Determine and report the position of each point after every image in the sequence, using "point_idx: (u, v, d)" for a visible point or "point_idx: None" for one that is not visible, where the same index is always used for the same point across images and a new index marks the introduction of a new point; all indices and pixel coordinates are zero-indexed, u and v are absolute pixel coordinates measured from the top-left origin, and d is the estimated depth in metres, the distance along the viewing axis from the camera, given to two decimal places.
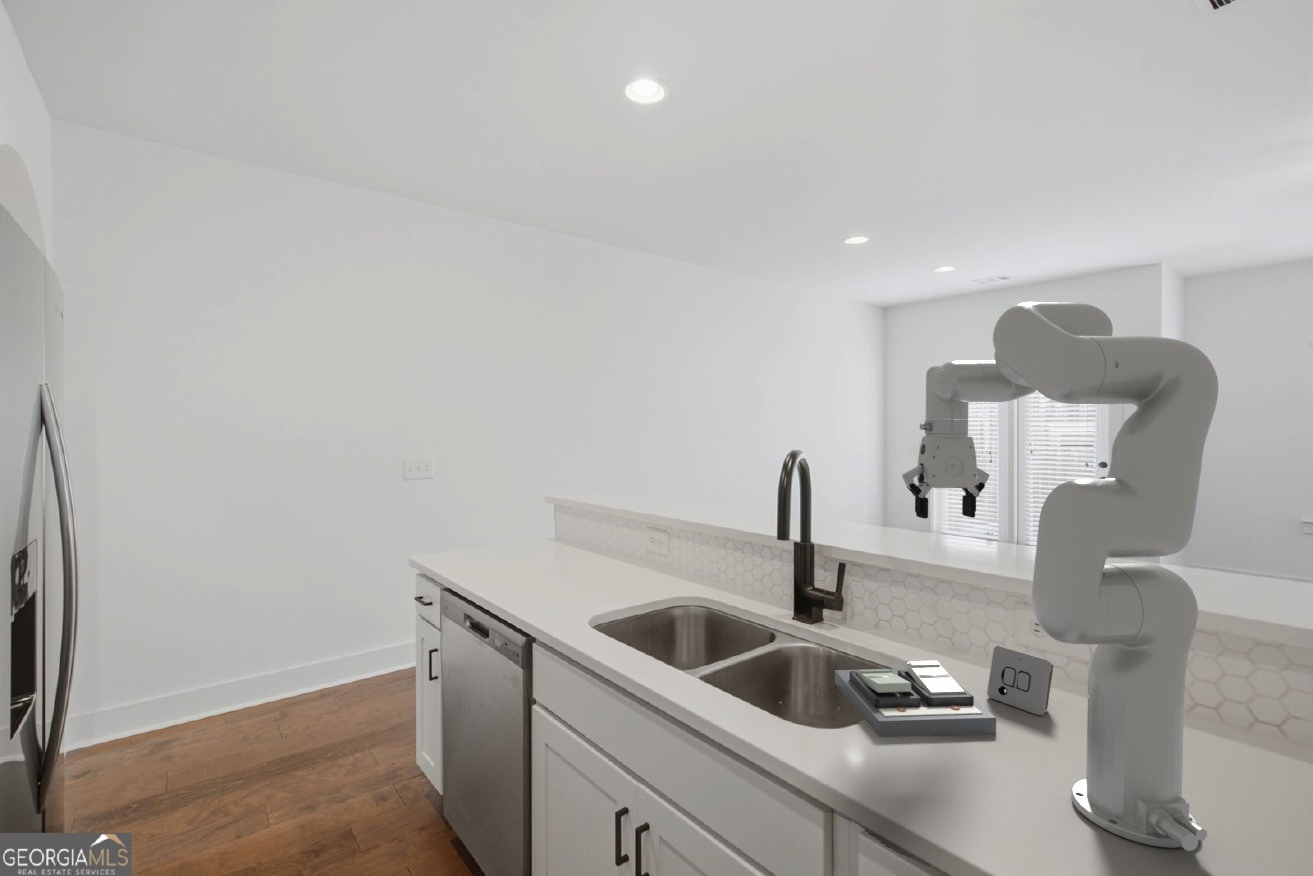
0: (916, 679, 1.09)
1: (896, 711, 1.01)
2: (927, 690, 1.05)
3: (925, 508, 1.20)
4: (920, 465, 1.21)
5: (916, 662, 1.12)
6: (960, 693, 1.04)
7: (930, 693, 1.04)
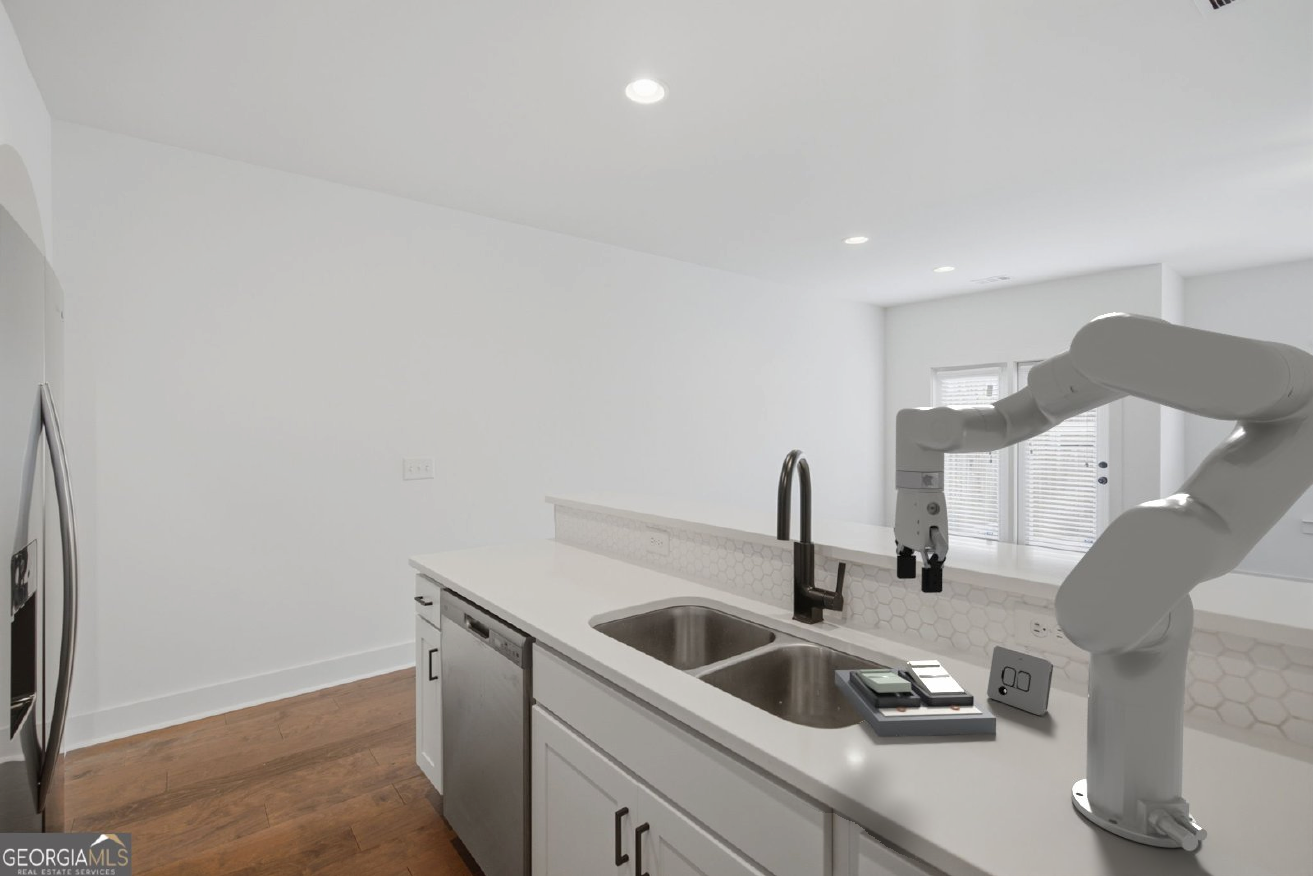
0: (916, 679, 1.09)
1: (896, 711, 1.01)
2: (927, 690, 1.05)
3: (941, 580, 1.00)
4: (931, 528, 1.00)
5: (916, 662, 1.12)
6: (960, 693, 1.04)
7: (930, 693, 1.04)
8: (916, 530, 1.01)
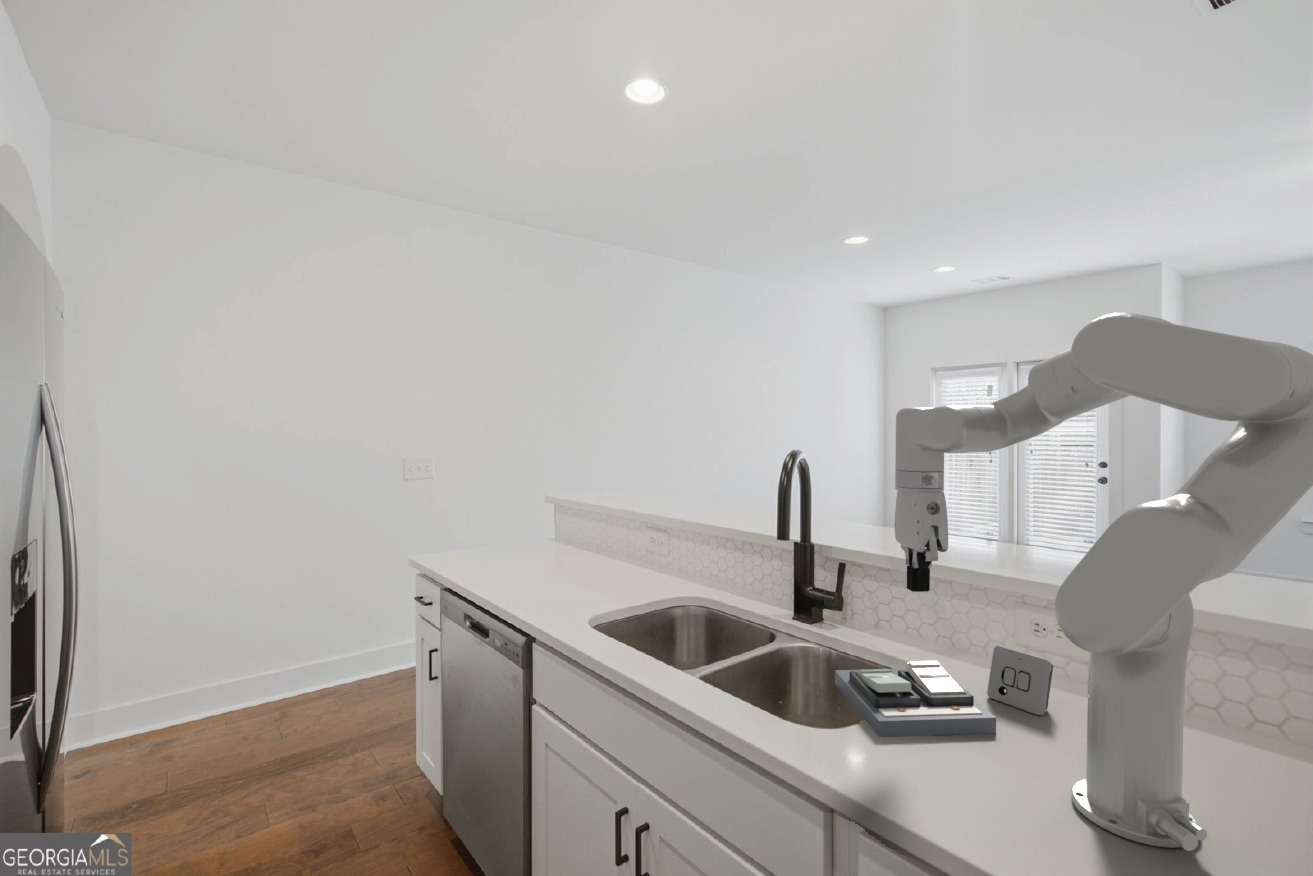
0: (916, 679, 1.09)
1: (896, 711, 1.01)
2: (927, 690, 1.05)
3: (928, 579, 1.04)
4: (929, 534, 1.00)
5: (916, 662, 1.12)
6: (960, 693, 1.04)
7: (930, 693, 1.04)
8: (916, 530, 1.01)
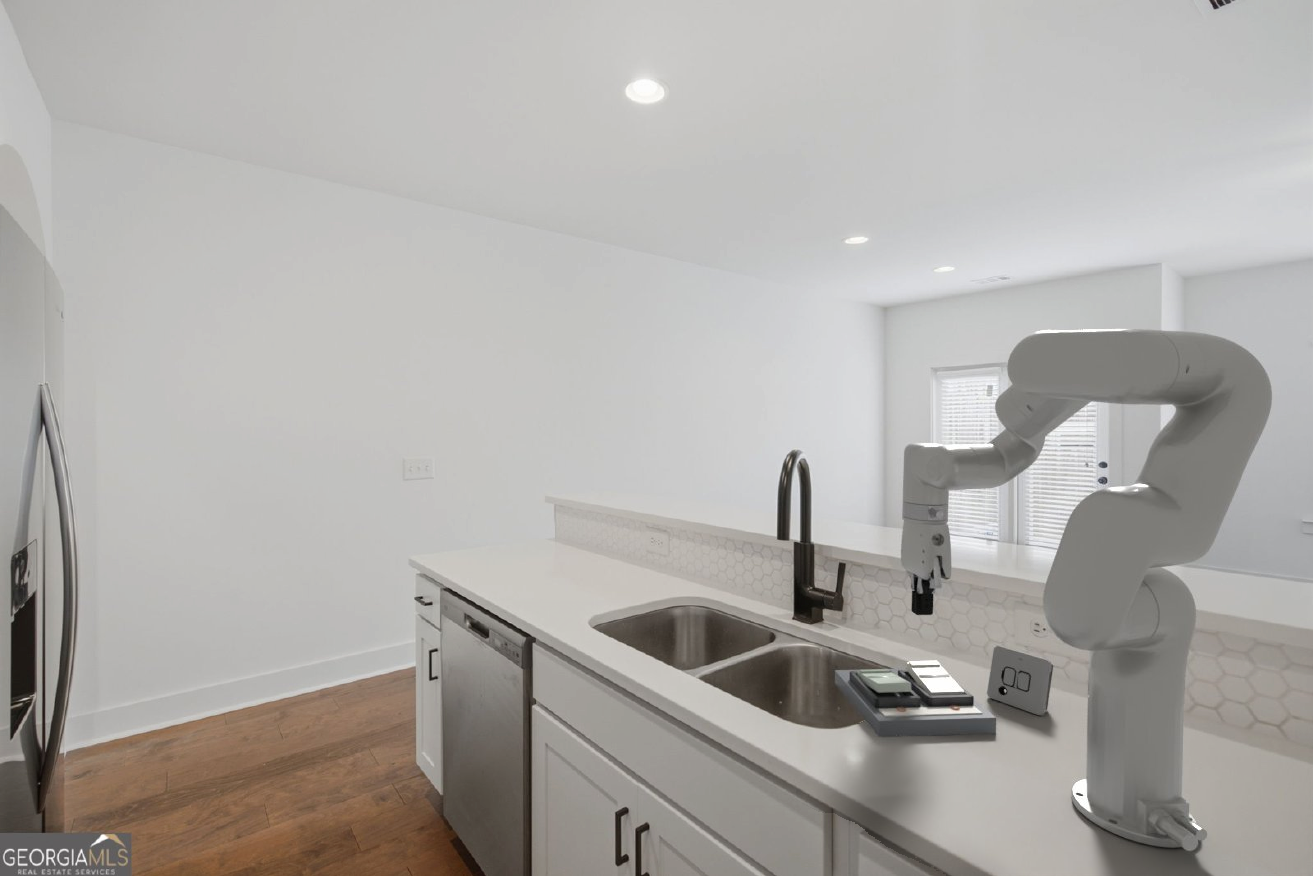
0: (916, 679, 1.09)
1: (896, 711, 1.01)
2: (927, 690, 1.05)
3: (932, 603, 1.12)
4: (934, 563, 1.07)
5: (916, 662, 1.12)
6: (960, 693, 1.04)
7: (930, 693, 1.04)
8: (921, 559, 1.08)
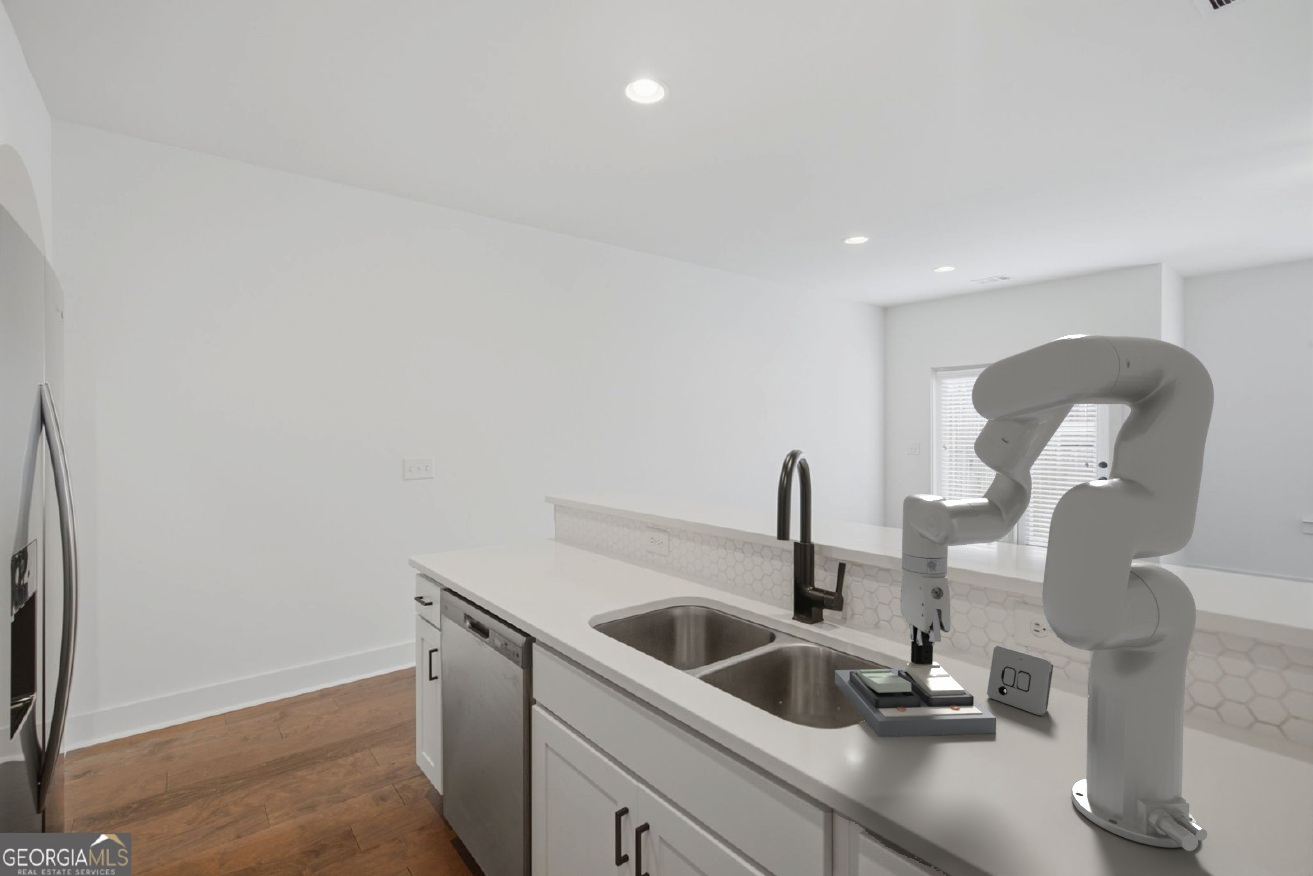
0: (916, 679, 1.09)
1: (896, 711, 1.01)
2: (927, 689, 1.05)
3: (932, 655, 1.12)
4: (933, 616, 1.08)
5: None
6: (960, 691, 1.04)
7: (930, 691, 1.04)
8: (920, 612, 1.09)
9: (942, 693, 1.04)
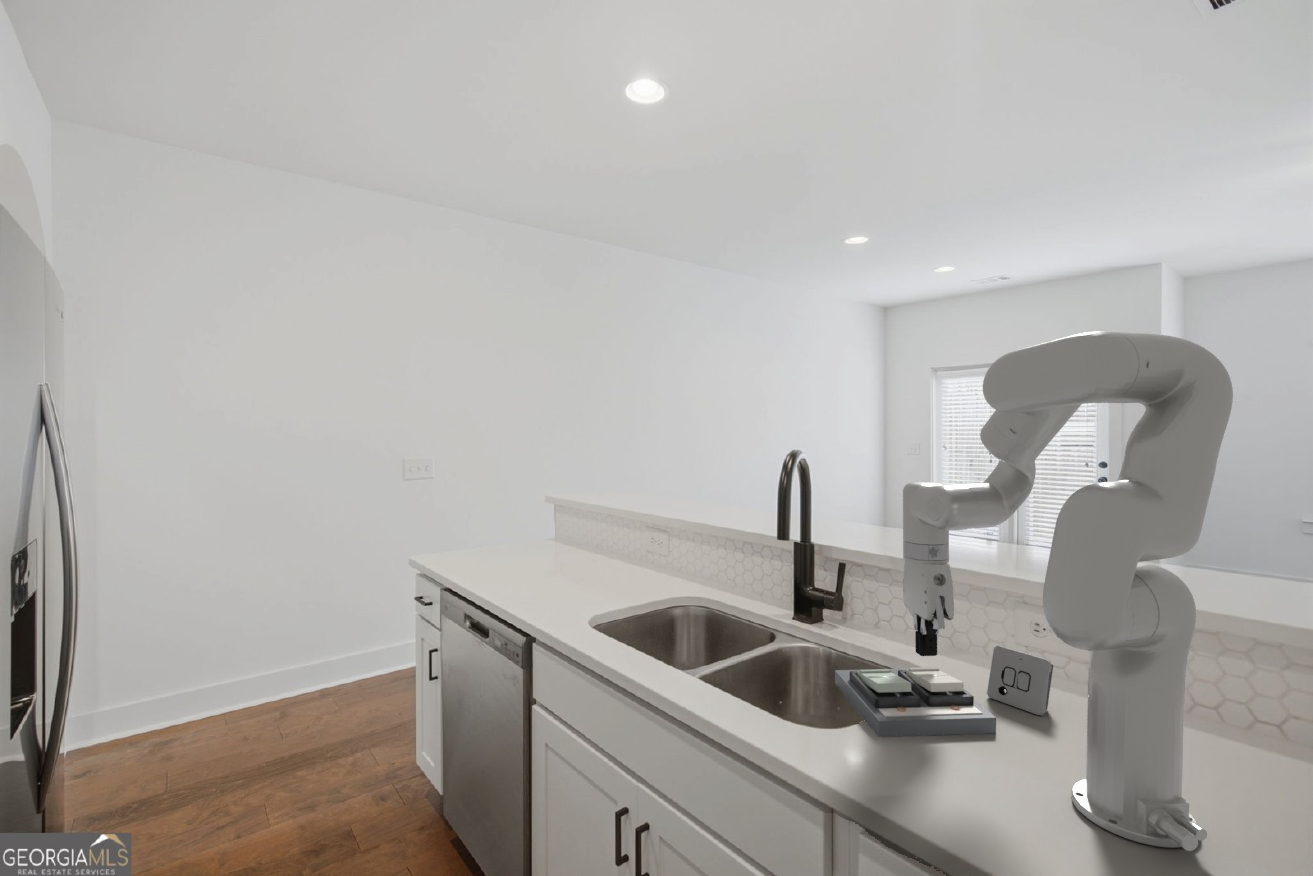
0: (916, 680, 1.09)
1: (896, 711, 1.01)
2: (927, 684, 1.05)
3: None
4: (936, 603, 1.07)
5: (915, 668, 1.12)
6: (960, 685, 1.04)
7: (930, 685, 1.04)
8: (923, 599, 1.08)
9: (942, 686, 1.04)
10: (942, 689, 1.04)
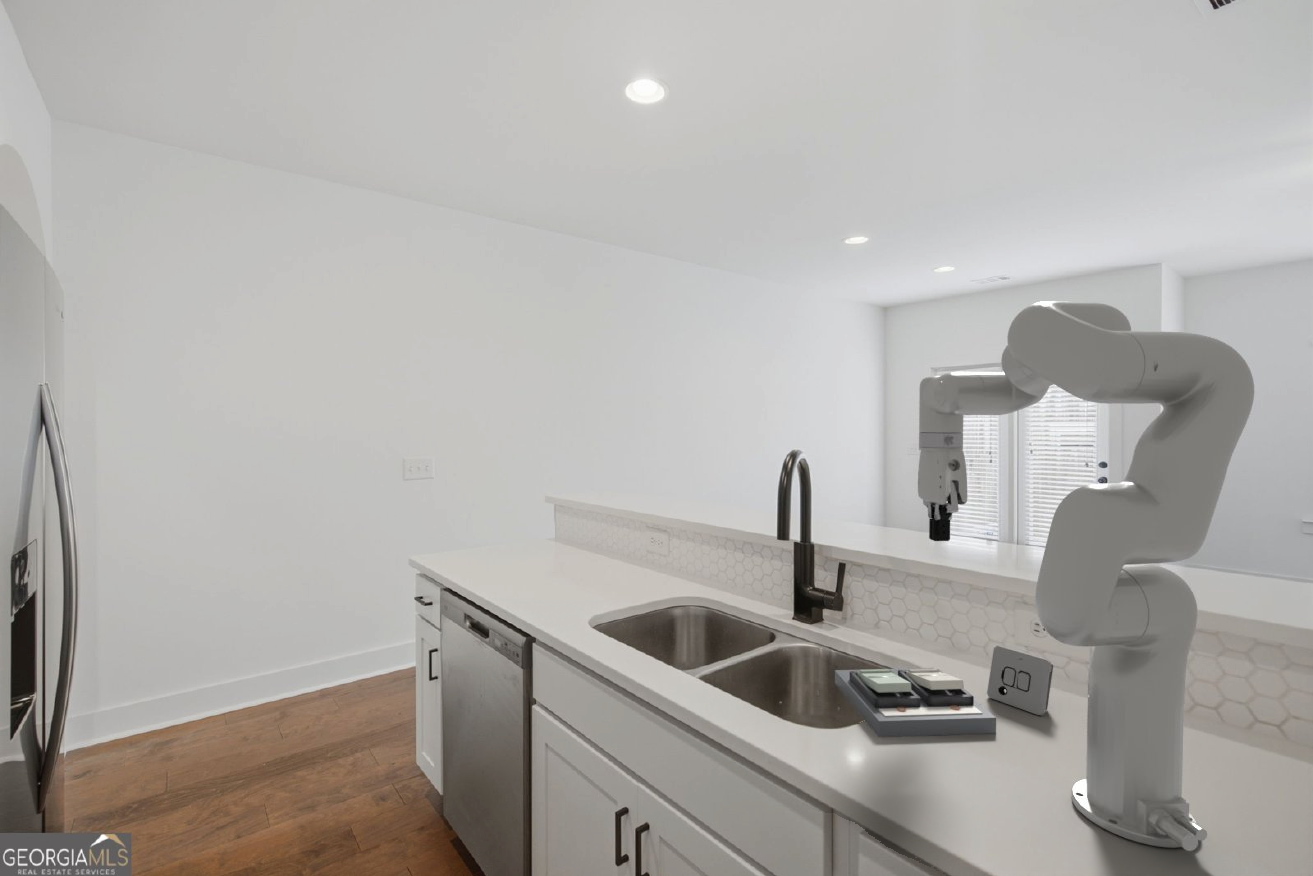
0: (916, 681, 1.09)
1: (896, 711, 1.01)
2: (927, 682, 1.05)
3: (949, 530, 1.17)
4: (950, 488, 1.13)
5: (915, 670, 1.12)
6: (960, 682, 1.04)
7: (930, 683, 1.04)
8: (938, 485, 1.13)
9: (942, 684, 1.04)
10: (942, 687, 1.04)
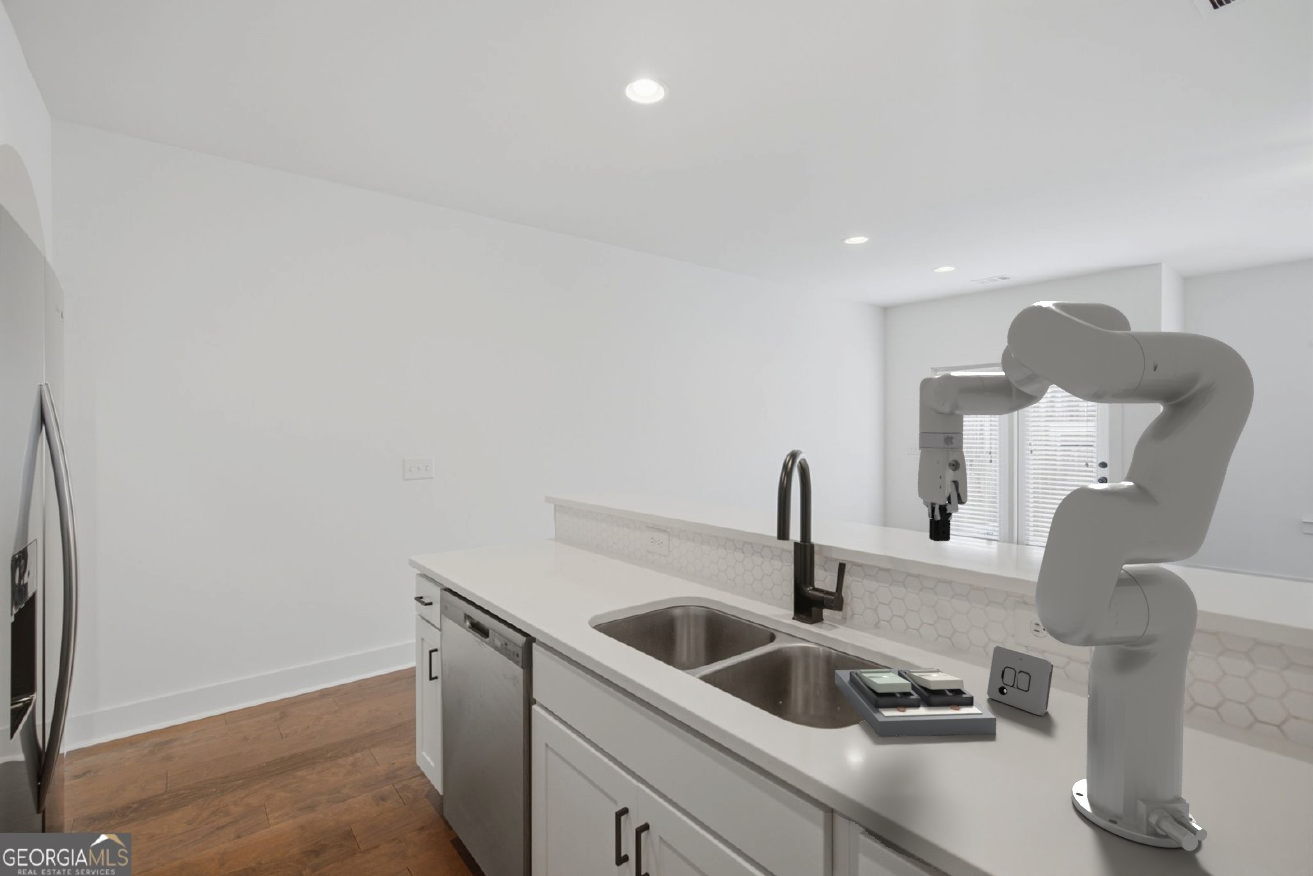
0: (916, 681, 1.09)
1: (896, 711, 1.01)
2: (927, 682, 1.05)
3: (949, 530, 1.17)
4: (950, 488, 1.13)
5: (915, 670, 1.12)
6: (960, 682, 1.04)
7: (930, 682, 1.04)
8: (938, 485, 1.13)
9: (942, 684, 1.04)
10: (942, 686, 1.04)
